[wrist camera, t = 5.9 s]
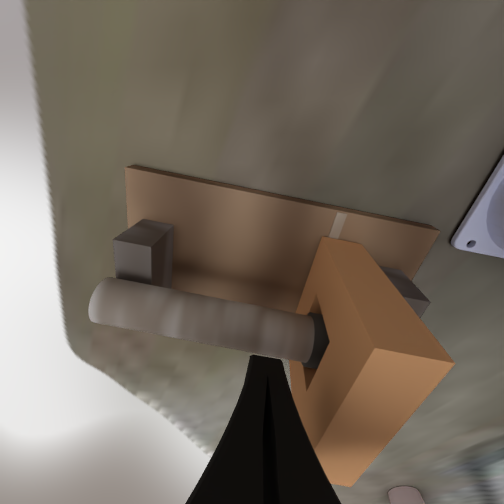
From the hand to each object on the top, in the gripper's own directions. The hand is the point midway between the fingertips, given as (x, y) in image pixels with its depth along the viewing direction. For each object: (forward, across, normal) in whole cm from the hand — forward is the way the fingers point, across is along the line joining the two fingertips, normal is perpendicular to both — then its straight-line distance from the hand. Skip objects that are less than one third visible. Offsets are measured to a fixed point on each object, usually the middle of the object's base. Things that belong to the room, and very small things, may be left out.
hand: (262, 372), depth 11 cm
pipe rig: (+8, 0, 0) cm, 8 cm away
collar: (+7, -4, 0) cm, 8 cm away
